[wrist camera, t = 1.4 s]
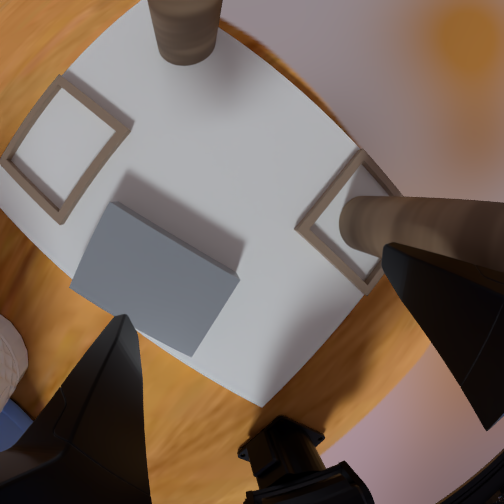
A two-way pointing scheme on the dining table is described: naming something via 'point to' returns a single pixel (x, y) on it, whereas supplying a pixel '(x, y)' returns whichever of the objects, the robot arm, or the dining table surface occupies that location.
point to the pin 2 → (427, 227)
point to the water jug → (12, 424)
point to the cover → (153, 279)
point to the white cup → (10, 360)
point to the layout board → (203, 189)
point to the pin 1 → (185, 29)
